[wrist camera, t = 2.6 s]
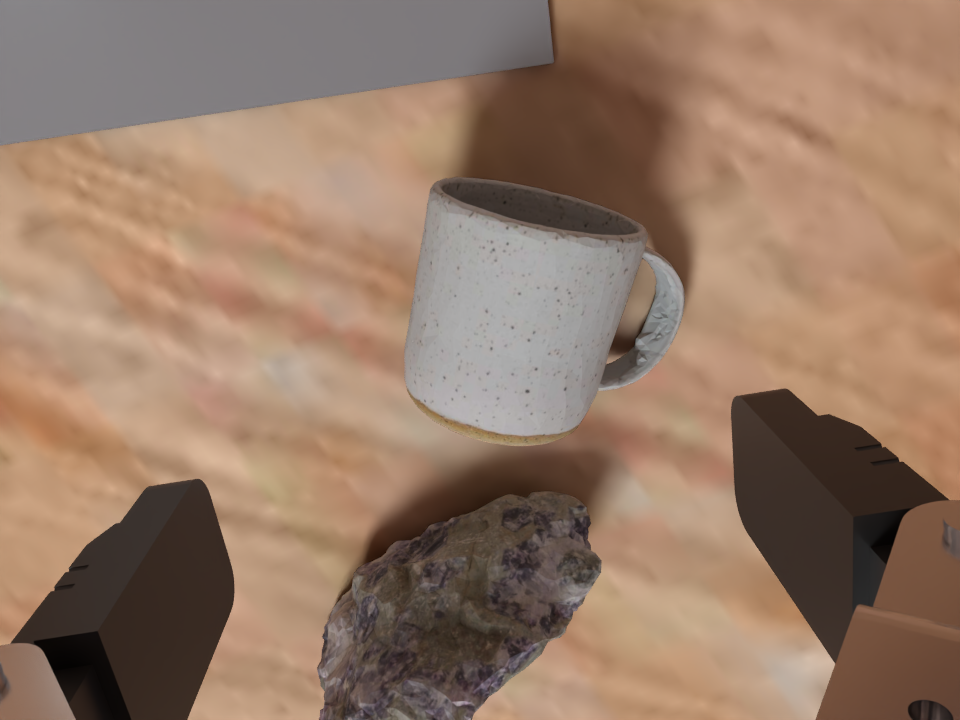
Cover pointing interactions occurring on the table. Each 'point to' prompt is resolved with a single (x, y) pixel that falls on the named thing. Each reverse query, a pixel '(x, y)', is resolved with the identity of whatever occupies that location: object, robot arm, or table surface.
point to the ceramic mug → (527, 310)
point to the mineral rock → (457, 610)
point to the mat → (239, 54)
